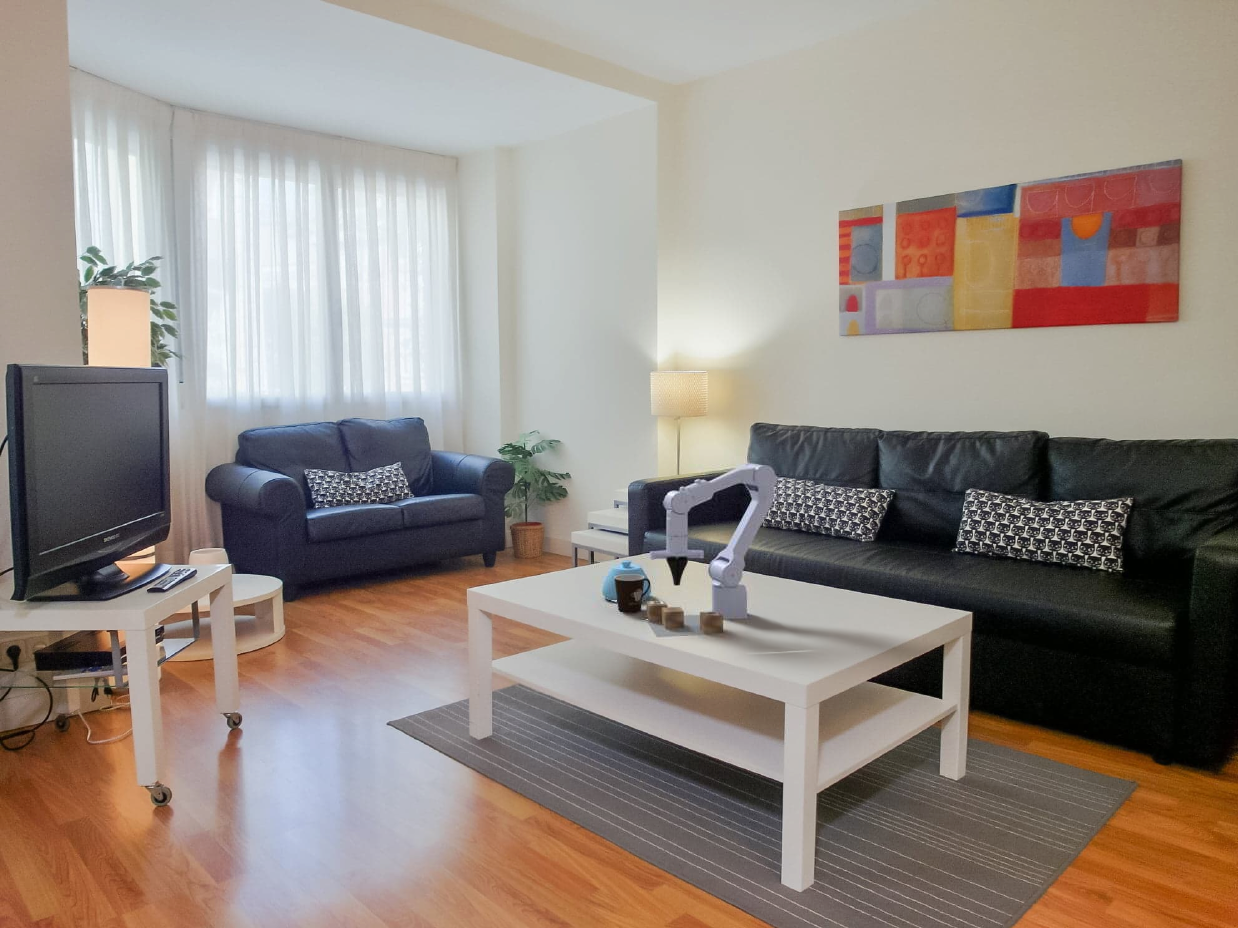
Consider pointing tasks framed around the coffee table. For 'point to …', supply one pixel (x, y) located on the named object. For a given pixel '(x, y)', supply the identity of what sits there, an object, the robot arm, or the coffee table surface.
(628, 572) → the sugar bowl
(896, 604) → the coffee table surface
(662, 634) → the grey mat
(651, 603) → the labelled block
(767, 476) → the robot arm
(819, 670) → the coffee table surface
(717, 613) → the labelled block
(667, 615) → the plain block
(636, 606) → the coffee mug
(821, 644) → the coffee table surface
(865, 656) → the coffee table surface
